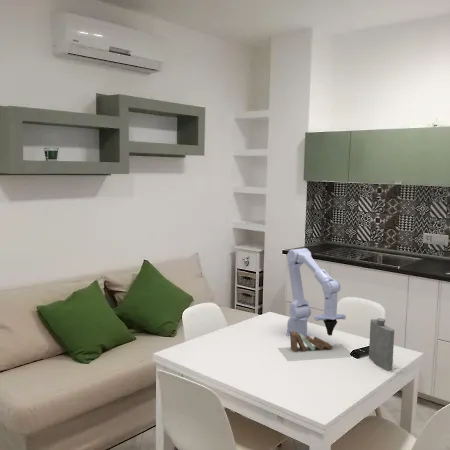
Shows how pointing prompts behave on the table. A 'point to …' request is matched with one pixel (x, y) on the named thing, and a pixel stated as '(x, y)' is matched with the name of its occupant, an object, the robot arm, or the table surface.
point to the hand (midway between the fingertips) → (329, 334)
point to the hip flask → (381, 344)
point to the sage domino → (307, 342)
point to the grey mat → (315, 353)
